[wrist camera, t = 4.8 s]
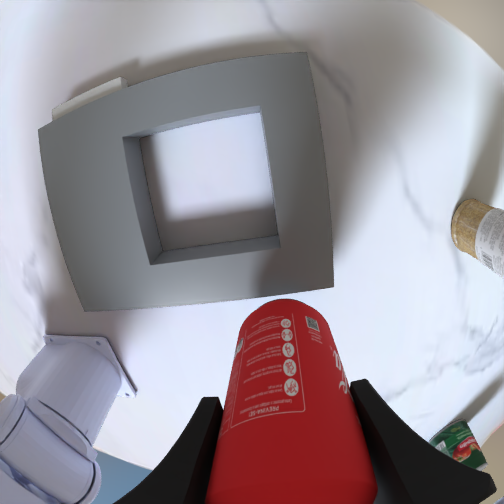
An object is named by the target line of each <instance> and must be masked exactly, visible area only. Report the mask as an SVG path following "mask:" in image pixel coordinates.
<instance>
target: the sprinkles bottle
mask: <svg viewBox="0 0 504 504" xmlns="http://www.w3.org/2000/svg"><path fill="white" fill-rule="evenodd" d="M451 234H452V239H453V242H454V244H455V246H456V247H457V248H458V249H459V250H461V251H463V252H466V253H468V254H470V255H471V256H473V257H474V258H476V259H478V260H479V261H480V262H481V263H482V264H483V265H485V266H486V267H488V268H489V269H491V270H492V271H494V272H495V273H497V274H498V275H499V276H501V277H502V278H504V210H502V209H499V208H494V207H491V206H489V205H486V204H483V203H481V202H480V201H478V200H476V199H469V200H466V201H464V202H463V203H462V204H461V205H460V206H459V207H458V209H457V210H456V212H455V214H454V216H453V220H452V227H451Z"/></svg>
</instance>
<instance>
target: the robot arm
mask: <svg viewBox="0 0 504 504" xmlns="http://www.w3.org/2000/svg"><path fill="white" fill-rule="evenodd" d="M43 340H44V342H45V343H46V345H45V346H44V347H43V348H42V350H41V351H40V352H39V353H38V354H37V355H36V356H35V358H34V359H33V360H32V361H31V362H30V364H29V365H28V366H27V367H26V368H25V370H24V371H23V372H22V373H21V375H20V376H19V378H18V381H17V386H16V395H14V394H10V395H8V396H7V397H6V398H4V399H3V400H2V401H1V402H0V504H90V503H91V502H92V501H93V500H94V499H95V498H96V496H97V494H98V492H99V489H100V486H101V471H100V467H99V465H98V463H97V462H96V461H95V459H96V456H97V452H96V451H95V450H94V449H93V448H92V446H93V444H94V442H95V440H96V438H97V435H98V433H99V431H100V429H101V427H102V425H103V422H104V420H105V418H106V416H107V414H108V412H109V410H110V408H111V406H112V404H113V402H114V400H115V398H116V396H120V397H129V398H135V397H136V392H135V390H134V389H133V387H132V385H131V384H130V382H129V380H128V378H127V377H126V375H125V373H124V371H123V369H122V368H121V366H120V364H119V362H118V360H117V358H116V356H115V354H114V352H113V350H112V348H111V346H110V344H109V342H108V341H107V339H106V338H104V337H82V336H59V335H44V336H43ZM350 391H351V394H352V397H353V400H354V403H355V407H356V410H357V413H358V416H359V420H360V423H361V427H362V430H363V433H364V437H365V440H366V444H367V448H368V451H369V455H370V459H371V462H372V466H373V470H374V474H375V478H376V482H377V486H378V493H377V496H376V498H375V501H374V503H373V504H479V503H480V502H482V501H483V500H485V499H486V498H488V497H489V496H490V495H492V494H493V493H495V492H496V490H497V489H496V487H495V484H494V481H493V479H492V477H491V476H490V474H488V473H485V472H482V471H479V470H477V469H474V468H472V467H469V466H467V465H465V464H463V463H461V462H458V461H457V460H455V459H453V458H451V457H450V456H448V455H446V454H444V453H443V452H441V451H439V450H438V449H436V448H435V447H434V446H432V445H431V444H429V443H428V442H427V441H425V440H424V439H423V438H422V437H420V436H419V435H418V434H417V433H416V432H414V431H413V430H412V429H411V428H410V427H409V426H408V425H407V424H406V423H405V422H404V421H403V420H402V419H401V418H400V417H399V416H398V415H397V414H396V413H395V412H394V411H393V410H392V409H391V408H390V407H389V406H388V405H387V403H386V402H385V401H384V400H383V399H382V398H381V396H380V395H379V394H378V393H377V392H376V390H375V389H374V388H373V387H372V385H371V384H370V383H369V381H368V380H367V379H362V380H357V381H353V382H351V385H350ZM222 415H223V408H222V406H221V403H220V400H219V397H203V398H202V399H201V401H200V403H199V405H198V407H197V409H196V410H195V412H194V414H193V416H192V418H191V419H190V421H189V423H188V424H187V426H186V428H185V429H184V431H183V432H182V434H181V435H180V437H179V438H178V440H177V441H176V443H175V444H174V445H173V447H172V448H171V449H170V451H169V452H168V453H167V455H166V456H165V457H164V459H163V460H162V461H161V462H160V463H159V464H158V466H157V467H156V468H155V469H154V470H153V471H152V472H151V473H150V474H149V475H148V476H147V477H146V478H145V479H144V480H143V481H142V482H141V483H140V484H139V485H137V486H136V487H135V488H134V489H132V490H131V491H130V492H129V493H127V494H126V495H124V496H123V497H122V498H120V499H119V500H118V501H116V502H115V503H113V504H205V498H206V494H207V489H208V484H209V479H210V474H211V469H212V464H213V459H214V455H215V450H216V445H217V440H218V435H219V430H220V425H221V420H222ZM493 504H504V497H502V498H501V499H499V500H498V501H496V502H495V503H493Z"/></svg>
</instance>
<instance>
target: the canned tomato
mask: <svg viewBox="0 0 504 504" xmlns="http://www.w3.org/2000/svg"><path fill="white" fill-rule="evenodd" d="M429 444H431V445H432V446H434V447H435V448H436V449H438V450H439V451H441V452H443V453H444V454H446V455H448V456H450V457H451V458H453V459H455V460H457V461H458V462H461V463H463V464H465V465H467V466H469V467H472V468H474V469H477V470H479V471H482V470H483V469H484V468H485V467H486V466H487V465H488V463H487V462H486V460H485V457H484V456H483V453H482V451H481V449H480V447H479V445H478V443H477V441H476V439H475V437H474V436H473V433H472V432H471V430H470V428H469V426H468V424H467V423H466V420H465V419H460V420H457V421H455V422H453V423H451V424H450V425H448V426H446V427H445V428H443V429H442V430H441V431H439V432H438V433H437V434H436V435H435V436H433V437H432V439H431V440H430V441H429Z"/></svg>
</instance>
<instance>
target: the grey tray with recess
mask: <svg viewBox="0 0 504 504" xmlns="http://www.w3.org/2000/svg"><path fill="white" fill-rule="evenodd" d="M259 112H260V114H261V120H262V126H263V133H264V139H265V145H266V152H267V159H268V166H269V172H270V179H271V186H272V194H273V201H274V208H275V216H276V223H277V231H278V235H276V236H269V237H261V238H254V239H247V240H240V241H232V242H225V243H218V244H211V245H204V246H197V247H190V248H183V249H176V250H170V251H162V247H161V243H160V239H159V235H158V231H157V226H156V222H155V218H154V213H153V209H152V204H151V200H150V195H149V190H148V185H147V180H146V175H145V170H144V164H143V158H142V152H141V146H140V140H139V138H142V137H145V136H149V135H152V134H156V133H159V132H163V131H167V130H171V129H175V128H179V127H183V126H187V125H192V124H196V123H201V122H206V121H211V120H216V119H221V118H227V117H233V116H239V115H245V114H252V113H259ZM52 118H53V121H52V122H51V123H49V124H47V125H45V126H44V127H42V128H40V129H38V135H39V145H40V153H41V161H42V167H43V174H44V179H45V185H46V190H47V195H48V200H49V204H50V209H51V213H52V217H53V221H54V225H55V228H56V232H57V236H58V239H59V243H60V246H61V249H62V252H63V256H64V259H65V262H66V265H67V268H68V270H69V273H70V276H71V279H72V282H73V284H74V287H75V289H76V292H77V295H78V297H79V300H80V302H81V304H82V307H83V309H84V311H85V312H88V311H111V310H129V309H144V308H158V307H171V306H183V305H194V304H205V303H215V302H224V301H234V300H242V299H251V298H259V297H267V296H275V295H283V294H290V293H298V292H305V291H312V290H318V289H325V288H331V287H334V270H333V247H332V230H331V215H330V203H329V192H328V182H327V173H326V164H325V156H324V148H323V140H322V133H321V126H320V120H319V114H318V108H317V102H316V96H315V90H314V85H313V80H312V75H311V70H310V65H309V60H308V56H307V52H297V53H281V54H270V55H260V56H252V57H245V58H238V59H232V60H226V61H221V62H215V63H210V64H206V65H201V66H197V67H192V68H188V69H184V70H180V71H177V72H173V73H169V74H166V75H162V76H159V77H156V78H153V79H150V80H146V81H143V82H140V83H138V84H135V85H132V86H129V87H128V83H127V80H126V79H124V78H122V77H118V78H116V79H113V80H111V81H109V82H106V83H104V84H102V85H99V86H97V87H95V88H93V89H91V90H89V91H86V92H84V93H82V94H80V95H78V96H76V97H74V98H72V99H70V100H69V101H67V102H65V103H63V104H61V105H59V106H58V107H56V108H54V109H52Z"/></svg>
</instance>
